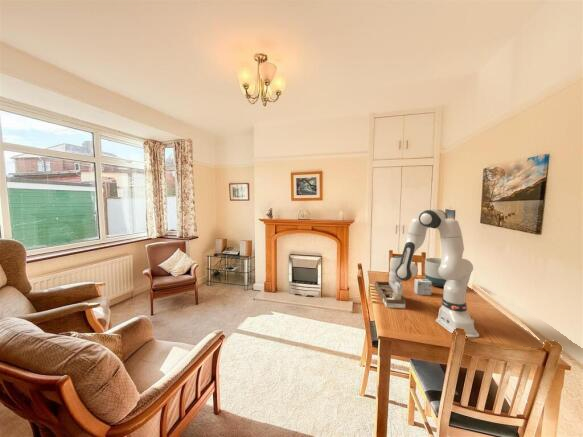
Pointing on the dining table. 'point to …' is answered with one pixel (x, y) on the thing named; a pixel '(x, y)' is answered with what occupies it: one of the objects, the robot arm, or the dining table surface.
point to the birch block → (396, 296)
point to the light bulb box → (422, 286)
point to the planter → (434, 272)
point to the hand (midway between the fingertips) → (395, 296)
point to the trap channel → (388, 295)
